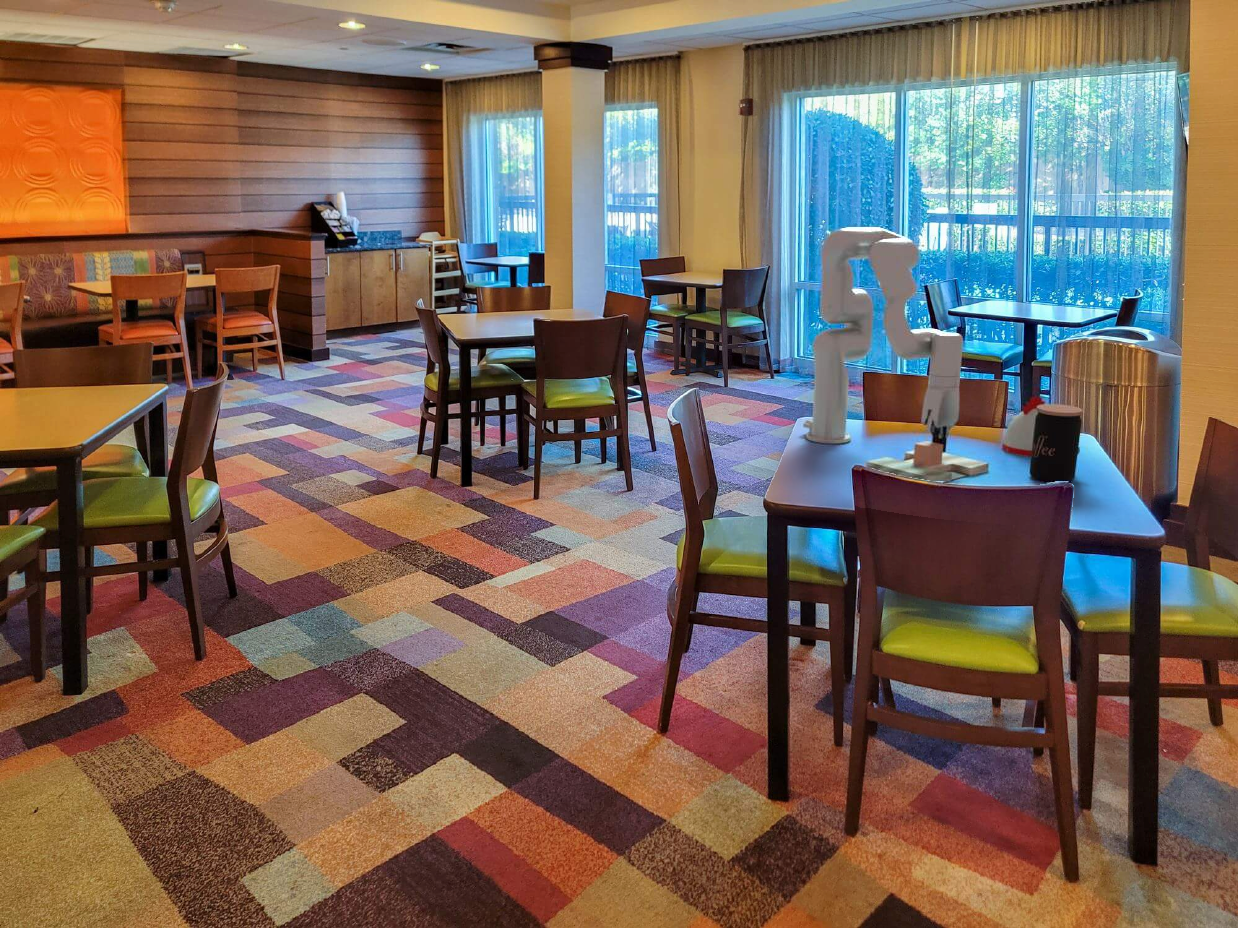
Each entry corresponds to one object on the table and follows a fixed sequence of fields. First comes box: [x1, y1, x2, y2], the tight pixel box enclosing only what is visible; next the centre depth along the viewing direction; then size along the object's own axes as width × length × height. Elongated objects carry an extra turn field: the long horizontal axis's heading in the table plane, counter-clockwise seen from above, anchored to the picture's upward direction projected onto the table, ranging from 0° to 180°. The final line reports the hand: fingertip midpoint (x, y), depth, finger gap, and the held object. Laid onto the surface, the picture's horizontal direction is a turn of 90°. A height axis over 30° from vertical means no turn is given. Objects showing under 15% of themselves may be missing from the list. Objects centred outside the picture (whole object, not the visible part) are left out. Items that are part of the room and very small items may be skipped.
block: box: [913, 440, 943, 467], centre depth 269 cm, size 5×5×5 cm
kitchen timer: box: [1001, 396, 1046, 457], centre depth 291 cm, size 14×14×15 cm
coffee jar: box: [1028, 403, 1084, 484], centre depth 261 cm, size 11×11×18 cm
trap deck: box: [865, 449, 990, 482], centre depth 270 cm, size 20×24×2 cm
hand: (938, 451), depth 272 cm, fingers closed
